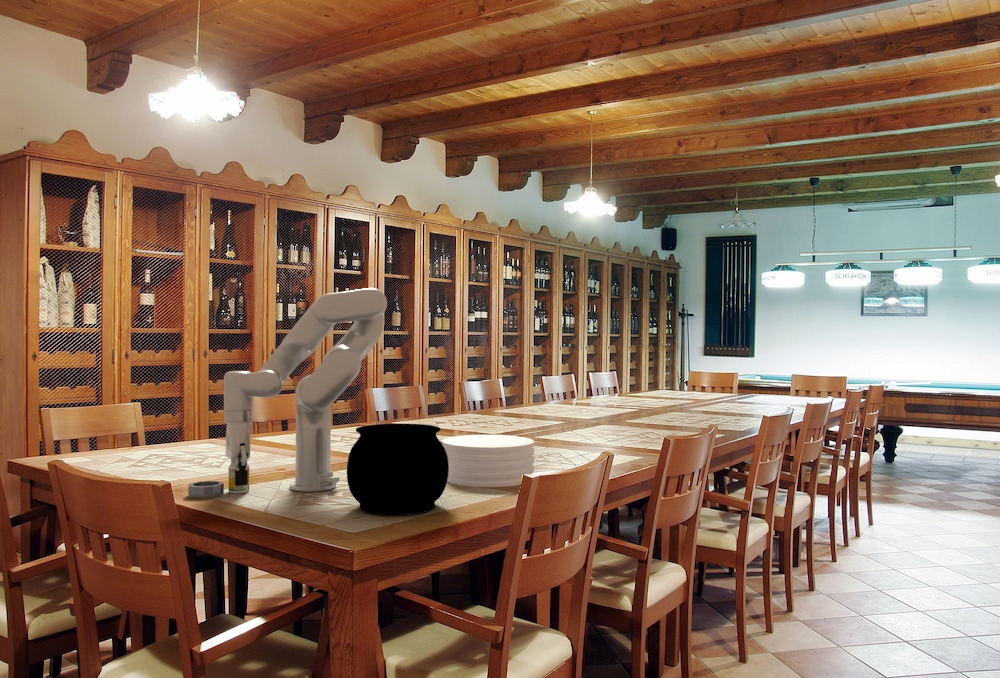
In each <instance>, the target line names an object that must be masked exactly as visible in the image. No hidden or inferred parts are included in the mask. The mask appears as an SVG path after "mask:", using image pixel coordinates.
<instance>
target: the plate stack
mask: <svg viewBox="0 0 1000 678" xmlns="http://www.w3.org/2000/svg"><path fill="white" fill-rule="evenodd" d="M441 443H442V445H443V446H444V448H445V450H446V453H447V457H448V465H449V472H448V480H447V483H448V482H449V484H452V485H456V484H457V486H465V487H476V488H501V487H502V488H503V487H513V486H521V485H520V482H521V477H522V475H524V474H532V473H533V474H534V472H535V466H534V464H535V457H534V455H535V449H534V448H533V447H535V440H534V439H532V438H529V437H525V436H517V435H508V434H467V435H466V434H465V435H464V434H463V435H454V436H450V437H446V438H444V439H442V440H441Z"/></svg>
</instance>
